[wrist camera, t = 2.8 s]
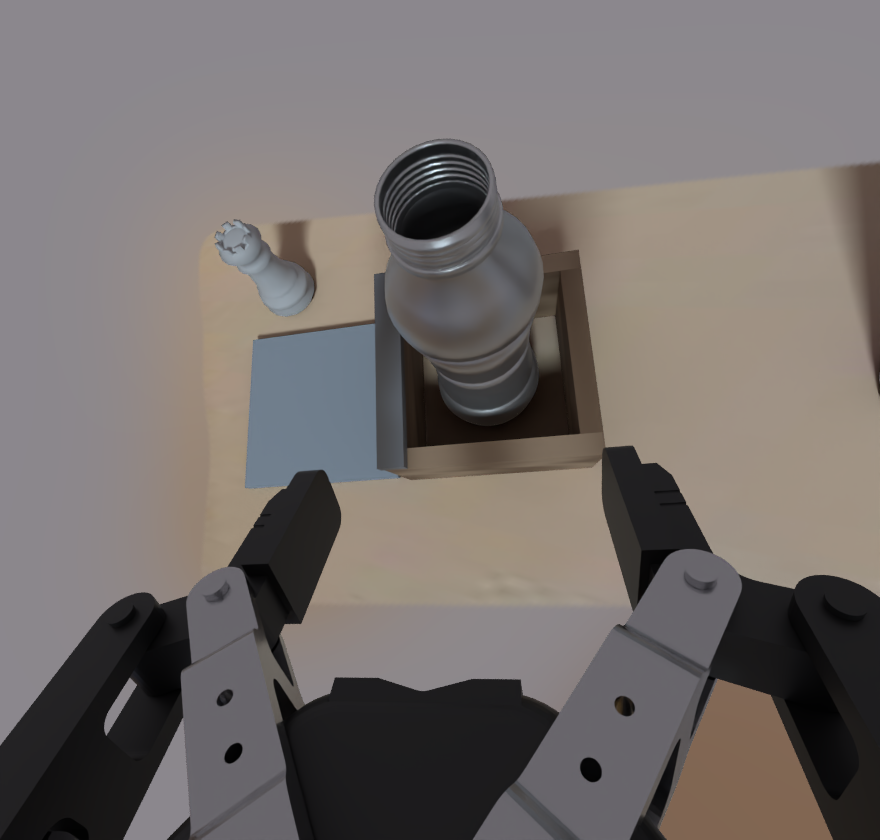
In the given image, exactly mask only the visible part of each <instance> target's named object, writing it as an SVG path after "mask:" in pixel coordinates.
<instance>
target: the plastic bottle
mask: <svg viewBox="0 0 880 840" xmlns="http://www.w3.org/2000/svg"><path fill="white" fill-rule="evenodd" d="M374 207H375V213H376V217H377V221H378V223H379V225H380V227H381V229H382V231H383V233H384V235H385V238H386V243H387V246H388V248H389V250H390V252H391V256H390V258H389V260H388V263H387V268H386V272H385V300H386V305H387V310H388V314H389V316H390V318H391V321H392V323H393V325H394V326H395V328H396V329H397V330H398V332H399V333H400V334H401V336H402V337H403V338H404V339H405V340H406V341H407V342H408V343H409V344H410V345H411V346H412V347H413V348H415V349H416V350H417V351H418V352H420V353H421V354H422V355H423V356H425V357H426V358H427V359H428V360H429V361H430V362H431V363H432V364H433V366H434V367H435V368H436V371H437V374H438V383H439V388H440V392H441V396H442V398H443V400H444V402H445V404H446V405H447V407H448V408H449V409H450V411H452V412H453V413H454V414H455V415H456V416H457V417H459V418H461V419H463V420H465V421H467V422H469V423H473V424H476V425H482V426H493V425H498V424H502V423H505V422H507V421H509V420H511V419H513V418H514V417H516V416H517V415H519V414H520V413H521V412H522V411H523V410H524V409H525V408H526V406H527V405H528V404H529V402H530V401H531V399H532V397H533V396H534V394H535V391H536V389H537V386H538V380H539V368H538V364H537V360H536V357H535V354H534V351H533V350H532V348H531V346H530V342H529V335H530V328H531V325H532V322H533V319H534V316H535V314H536V311H537V308H538V305H539V303H540V297H541V292H542V286H543V279H544V273H543V262H542V259H541V255H540V252H539V249H538V248H537V246H536V244H535V242H534V240H533V238H532V236H531V235H530V233H529V231H528V230H527V228H526V227H525V226H524V225H523V224H522V223H521V222H520V221H519V220H518V219H517V218H516V217H514V216H513V215H511V214H510V213H508V212H507V211H505V210H503V207H502V202H501V198H500V196H499V193H498V192H497V186H496V178H495V175H494V171H493V168H492V167H491V163H490V162H489V160H488V158H487V157H486V155H485V154H484V153H482V152H481V150H480V149H478V148H477V147H475V146H473V145H471V144H470V143H467V142H464V141H461V140H455V139H437V140H432V141H427V142H424V143H422V144H419V145H416V146H414V147H412V148H410V149H409V150H407V151H405V152H404V153H402V154H401V155H400V156H398V157H397V158H396V159H395V160H394V161H393V162H392V163H391V164H390V165H389V166H388V167H387V169H386V170H385V172H384V173H383V175H382V176H381V178H380V180H379V183H378V185H377V188H376V191H375V196H374Z"/></svg>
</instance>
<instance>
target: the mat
mask: <svg viewBox="0 0 880 840" xmlns="http://www.w3.org/2000/svg"><path fill="white" fill-rule="evenodd" d="M309 470H324V471H325V472H326V474H327V476H328V478H329V481H330V483H335V482H349V481H363V480H378V479H392V478H400V476H399V475H396V474H393V473H391V472H388V471H385V470H382V471H381V470H378V469H377V448H376V371H375V324H368V325H360V326H353V327H346V328H339V329H331V330H324V331H317V332H309V333H302V334H295V335H287V336H280V337H273V338H266V339H258V340H253V355H252V373H251V391H250V409H249V427H248V444H247V462H246V480H245V488H263V487H278V486H288V485H289V484H290V482H291V480H292V479H293V477H294V475H295V474H296V473H297V472H299V471H309Z"/></svg>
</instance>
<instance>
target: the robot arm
mask: <svg viewBox="0 0 880 840" xmlns="http://www.w3.org/2000/svg"><path fill="white" fill-rule="evenodd" d="M879 382H880V374H879ZM602 501H603V508H604V513H605V517H606V520H607V523H608V527H609V530H610V534H611V537H612V541H613V544H614V548H615V551H616V554H617V558H618V561H619V565H620V568H621V572H622V575H623V578H624V582H625V585H626V589H627V592H628V596H629V599H630V603H631V606H632V609H633V613H632V615H631V617H630V618H629V620H628V621H627V623H626V624H625V625H624V626H622V625H620V624H618V625H616V626H615V627H614V628H613V629H612V630H611V632H610V633H609V635H608V636H607V638H606V639H605V641H604V643H603V644H602V646H601V647H600V649H599V651H598V652H597V654H596V655H595V657H594V659H593V660H592V662H591V663H590V665H589V667H588V668H587V670H586V671H585V673H584V675H583V676H582V678H581V680H580V681H579V683H578V684H577V686H576V688H575V689H574V691H573V692H572V694H571V696H570V697H569V699H568V700H567V702H566V704H565V705H564V707H563V709H562V710H561V712H560V713H559V712H557V711H556V710H554V709H553V708H551V707H549V706H548V705H546V704H545V703H542V702H540V701H538V700H536V699H533V698H530V697H527V696H523V693H522V686H521V680H512V679H510V680H507V679H505V680H504V679H503V680H502V679H471V680H467V681H463V682H459V683H455V684H452V685H448V686H444V687H440V688H436V689H432V690H429V691H418V690H414V689H411V688H408V687H405V686H402V685H399V684H395V683H392V682H389V681H386V680H383V679H380V678H335V680H334V683H333V686H332V690H331V693H330V694H328V695H325V696H322V697H320V698H317V699H315V700H313V701H312V702H309V703H308V704H306V705H305V704H304V702H303V699H302V697H301V694H300V691H299V688H298V685H297V681H296V678H295V675H294V672H293V669H292V665H291V662H290V659H289V656H288V653H287V649H286V646H285V643H284V640H283V638H282V636H281V634H280V633H281V631H282V629H283V626H284V624H301V623H302V620H303V618H304V615H305V613H306V610H307V608H308V605H309V603H310V600H311V598H312V595H313V593H314V590H315V588H316V586H317V583H318V581H319V578H320V576H321V573H322V571H323V568H324V566H325V563H326V561H327V558H328V556H329V553H330V551H331V548H332V546H333V543H334V541H335V538H336V536H337V533H338V531H339V528H340V524H341V510H340V507H339V504H338V501H337V499H336V496H335V494H334V491H333V488H332V486H331V483H330V481H329V478H328V476H327V474H326V472H325V471H324V470H309V471H299V472H297V473H296V474H295V475H294V477H293V479H292V480H291V482H290V484H289V485H288V487H287V489H282V490H281V491H280V492H279V493H277V494H276V495H275V496H274V497H273V498H272V499H271V500H270V501H269V502H268V503H267V505H266V506H265V508H264V509H263V511H262V513H261V514H260V517H258V519H257V521H256V522H255V524H254V525H253V526H254V528H252V529H251V530H250V532H249V533H248V535H247V537H246V538H245V540H244V541H243V543H242V545H241V546H240V548H239V549H238V551H237V553H236V554H235V556H234V557H233V559H232V561H231V562H230V564H229V565H228V567H225V568H221V569H218V570H216V571H214V572H212V573H210V574H208V575H207V576H205V577H204V578H203V579H201V580H200V581H199V582H198V583H197V584H196V585H195V586H194V587H193V589H192V590H191V592H190V593H189V595H188V596H186V597H182V598H179V599H176V600H173V601H170V602H166V603H163V604H159V603H158V602H157V601H156V599H155V598H154V597H153V596H152V595H151V594H149V593H136V594H133V595H130V596H128V597H125V598H123V599H121V600H120V601H118V602H117V603H115V604H114V605H112V606H111V607H110V608H108V609H107V610H106V611H105V612H104V613H103V614H102V615H101V616H100V617H99V619H98V620H97V621H96V623H95V624H94V625H93V626H92V628H91V629H90V630H89V632H88V633H87V634H86V635H85V637H84V638H83V639H82V641H81V642H80V643H79V645H78V646H77V647H76V648H75V650H74V651H73V652H72V654H71V655H70V656H69V658H68V659H67V660H66V661H65V663H64V664H63V665H62V667H61V668H60V669H59V670H58V672H57V673H56V674H55V676H54V677H53V678H52V679H51V681H50V682H49V683H48V685H47V686H46V687H45V688H44V690H43V691H42V692H41V694H40V695H39V696H38V698H37V699H36V700H35V701H34V703H33V704H32V705H31V707H30V708H29V710H28V711H27V712H26V713H25V714H24V716H23V717H22V718H21V720H20V721H19V722H18V723H17V725H16V726H15V727H14V729H13V730H12V731H11V733H10V734H9V735H8V736H7V738H6V739H5V740H4V742H3V743H2V744H1V746H0V840H123V839H124V836H125V834H126V832H127V830H128V828H129V826H130V824H131V822H132V820H133V818H134V816H135V814H136V812H137V810H138V808H139V806H140V804H141V802H142V800H143V798H144V796H145V794H146V792H147V790H148V788H149V785H150V783H151V781H152V779H153V777H154V775H155V773H156V771H157V769H158V767H159V765H160V763H161V761H162V759H163V757H164V755H165V753H166V751H167V749H168V746H169V745H170V743H171V741H172V739H173V737H174V735H175V732H176V731H177V728H178V727H179V724H180V722H181V720H182V718H184V732H185V748H186V763H187V776H188V791H189V806H190V817H189V818H188V819H187V820H186V821H185V822H184V823H183V824H182V825H181V826H180V827H179V828H178V829H177V830H176V831H175V832H174V833H173V834H172V835H171V836H170V837H169V838H168V839H167V840H666V838H665V837H664V836H663V835H662V833H661V832H660V831H659V828H660V825H661V822H662V820H663V818H664V816H665V813H666V811H667V808H668V805H669V803H670V801H671V798H672V795H673V793H674V790H675V788H676V785H677V783H678V780H679V777H680V775H681V772H682V769H683V766H684V763H685V759H686V756H687V754H688V751H689V748H690V746H691V743H692V741H693V738H694V736H695V733H696V731H697V728H698V726H699V723H700V721H701V719H702V716H703V714H704V711H705V709H706V706H707V704H708V701H709V699H710V696H711V694H712V692H713V689H714V687H715V684H716V682H717V679H720V680H724V681H727V682H730V683H733V684H737V685H741V686H743V687H747V688H750V689H753V690H756V691H760V692H763V693H766V694H770V695H771V697H772V698H773V701H774V703H775V706H776V708H777V710H778V713H779V715H780V717H781V719H782V722H783V724H784V726H785V729H786V731H787V734H788V736H789V738H790V741H791V743H792V745H793V748H794V750H795V752H796V755H797V757H798V759H799V761H800V764H801V766H802V768H803V771H804V773H805V775H806V778H807V780H808V782H809V785H810V787H811V789H812V792H813V794H814V796H815V799H816V801H817V803H818V806H819V808H820V810H821V813H822V815H823V817H824V819H825V822H826V824H827V827H828V829H829V831H830V834H831V836H832V838H833V840H880V597H878V596H877V595H876V594H874V593H873V592H871V591H870V590H868V589H866V588H865V587H863V586H861V585H859V584H857V583H855V582H852V581H849V580H847V579H843V578H840V577H835V576H829V575H814V576H809V577H806V578H804V579H802V580H801V581H799V582H798V584H797V585H796V587H795V589H791V588H787V587H782V586H777V585H773V584H768V583H763V582H759V581H755V580H752V579H749V578H746V577H744V576H741V575H739V574H738V573H737V572H736V570H735V569H734V568H733V567H732V566H731V565H730V564H729V563H728V562H727V561H725V560H724V559H722V558H720V557H719V556H717V555H714V554H713V552H712V551H711V549H710V547H709V545H708V543H707V541H706V539H705V537H704V535H703V534H702V532H701V530H700V528H699V526H698V524H697V522H696V520H695V518H694V516H693V514H692V513H691V511H690V509H689V507H688V505H686V501H685V499H684V497H683V495H682V493H680V490H679V488H678V486H677V484H676V482H675V480H674V478H673V476H672V475H671V474H670V473H669V472H667V471H666V470H665V469H664V468H662V467H661V466H660V465H658V464H657V463H649V464H641V461H640V459H639V457H638V455H637V453H636V450H635V448H634V447H633V446H621V447H608V448H603V451H602ZM129 678H131V679H132V680H133V681H134V682H135V683H136V684H137V686H136V688H135V690H134V691H133V693H132V695H131V696H130V698H129V700H128V701H127V703H126V704H125V706H124V708H123V709H122V711H121V713H120V714H119V716H118V718H117V719H116V721H115V723H114V724H113V726H112V728H111V729H110V731H109V733H108V734H107V736H106V735H105V732H104V722H105V718H106V716H107V713H108V711H109V710H110V708H111V706H112V705H113V703H114V702H115V700H116V698H117V697H118V695H119V694H120V692H121V690H122V689H123V687H124V686H125V684H126V682H127V681H128V679H129Z"/></svg>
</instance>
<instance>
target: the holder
mask: <svg viewBox="0 0 880 840" xmlns="http://www.w3.org/2000/svg"><path fill="white" fill-rule="evenodd" d="M541 259H542V262H543V273H544V279H543V286H542V292H541V297H540V303H539V305H538V308H537V311H536V314H535V316H534V318H539V317H547V316H554V315H555V316H556V325H557V334H558V342H559V351H560V359H561V368H562V376H563V385H564V393H565V402H566V410H567V419H568V427H569V435H562V436H550V437H538V438H525V439H513V440H501V441H489V442H477V443H465V444H453V445H440V446H428V447H426V426H425V400H424V375H423V355H422V354H421V353H420V352H418V351H417V350H416V349H415V348H413V347H412V346H411V345H410V344H409V343H408V342H407V341H406V340H405V339H404V338H403V337H402V336H401V334H400V333H399V332H398V330H397V329H396V328H395V326H394V325H393V323H392V321H391V318H390V316H389V314H388V310H387V305H386V300H385V273H379V274H374V295H375V371H376V448H377V469H378V470H381V471H382V470H385V471H388V472H391V473H393V474H396V475H399V476H402V477H404V478H407V479H410V480H418V479H432V478H447V477H461V476H476V475H490V474H505V473H519V472H534V471H549V470H563V469H578V468H592V467H593V466H594V465H595V464H596V463H597V462H598V461H599V460H600V459H602V451H603V448H605V441H604V434H603V426H602V419H601V412H600V404H599V397H598V390H597V382H596V375H595V367H594V360H593V353H592V345H591V338H590V331H589V323H588V316H587V308H586V301H585V294H584V286H583V279H582V272H581V264H580V257H579V250H574V251H568V252H561V253H555V254H548V255H542V256H541Z"/></svg>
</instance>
